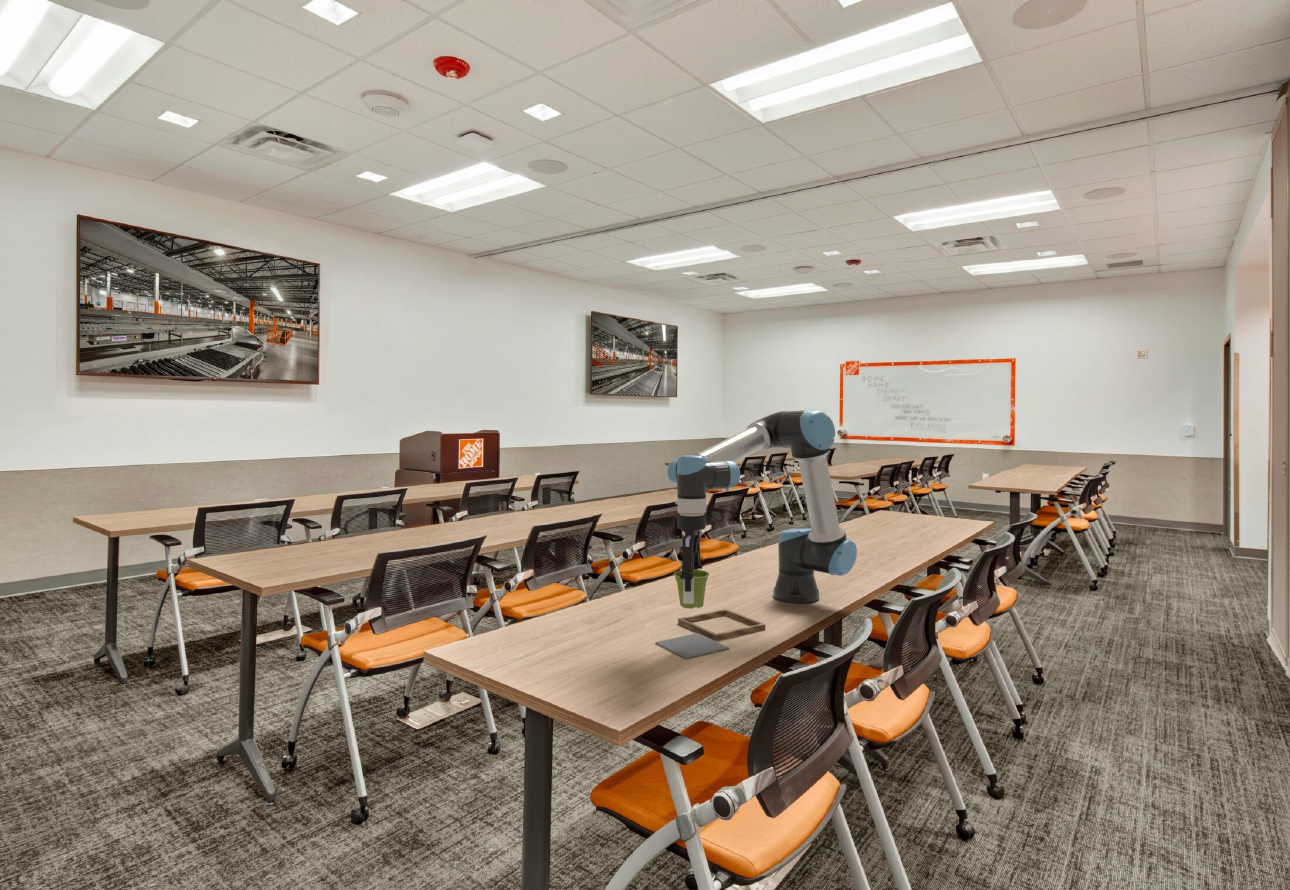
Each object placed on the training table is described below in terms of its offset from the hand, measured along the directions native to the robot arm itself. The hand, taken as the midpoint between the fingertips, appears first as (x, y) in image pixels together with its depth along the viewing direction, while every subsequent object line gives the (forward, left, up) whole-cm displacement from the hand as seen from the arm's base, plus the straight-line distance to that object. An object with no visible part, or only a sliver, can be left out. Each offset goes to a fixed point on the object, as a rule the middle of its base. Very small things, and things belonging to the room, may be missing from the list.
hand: (691, 598), depth 173 cm
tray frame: (-17, -9, -13) cm, 23 cm away
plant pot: (0, 0, -2) cm, 2 cm away
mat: (0, 0, -13) cm, 13 cm away
